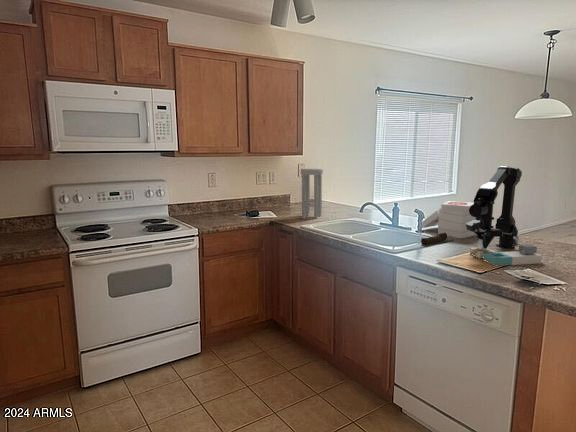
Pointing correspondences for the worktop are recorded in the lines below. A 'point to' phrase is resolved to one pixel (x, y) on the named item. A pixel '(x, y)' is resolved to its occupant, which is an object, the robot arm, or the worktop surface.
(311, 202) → the stool
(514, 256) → the dock
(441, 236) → the hand tool
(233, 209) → the worktop surface
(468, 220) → the pizza boxes
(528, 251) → the gray rectangular block
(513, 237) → the white blue elongated body
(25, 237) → the worktop surface
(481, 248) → the pin
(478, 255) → the frame
